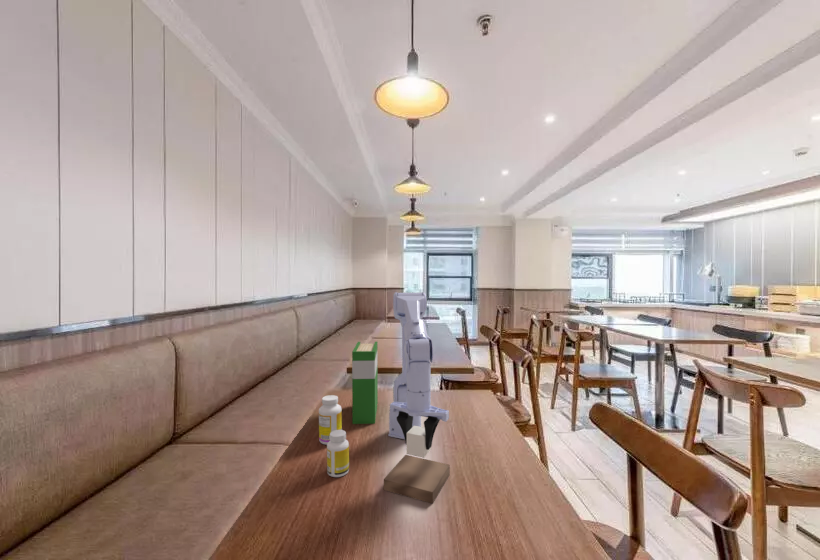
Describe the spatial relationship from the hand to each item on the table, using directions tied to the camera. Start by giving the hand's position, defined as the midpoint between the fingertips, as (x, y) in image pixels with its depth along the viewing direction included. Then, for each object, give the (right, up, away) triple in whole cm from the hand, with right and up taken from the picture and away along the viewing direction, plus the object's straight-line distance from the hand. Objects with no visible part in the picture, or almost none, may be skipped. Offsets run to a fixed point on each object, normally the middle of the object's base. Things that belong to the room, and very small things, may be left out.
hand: (418, 445), depth 84 cm
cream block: (0, -2, 0) cm, 2 cm away
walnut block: (0, -9, 0) cm, 9 cm away
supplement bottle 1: (-26, -9, +21) cm, 34 cm away
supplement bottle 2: (-20, -9, +4) cm, 22 cm away
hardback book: (-18, -8, +41) cm, 46 cm away
